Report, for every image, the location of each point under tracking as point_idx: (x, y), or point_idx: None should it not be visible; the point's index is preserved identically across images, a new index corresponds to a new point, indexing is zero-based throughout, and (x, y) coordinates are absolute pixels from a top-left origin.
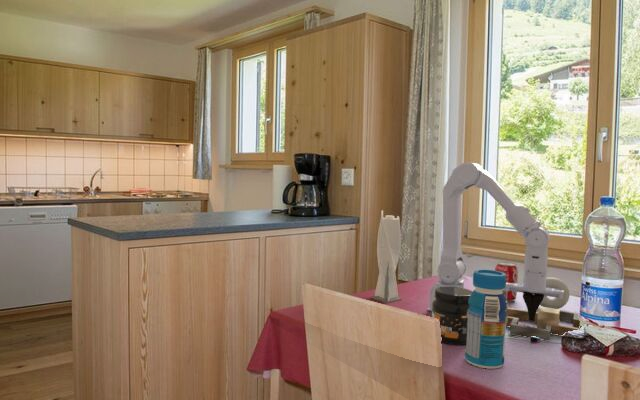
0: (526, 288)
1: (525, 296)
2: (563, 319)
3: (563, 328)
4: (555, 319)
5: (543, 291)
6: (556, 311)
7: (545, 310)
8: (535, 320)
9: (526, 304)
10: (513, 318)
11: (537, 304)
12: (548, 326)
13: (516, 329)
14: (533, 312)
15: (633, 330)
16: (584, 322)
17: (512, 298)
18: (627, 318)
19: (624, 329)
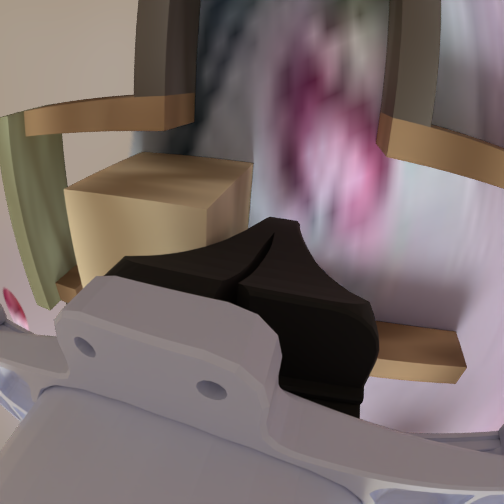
0: (323, 458)
1: (343, 324)
2: None
3: (83, 101)
4: (107, 175)
5: (27, 350)
6: (87, 252)
7: (150, 243)
8: None
9: (322, 271)
10: (430, 125)
11: (193, 256)
12: (152, 39)
13: None
14: (258, 236)
15: (7, 304)
16: (6, 194)
17: None
18: None
19: (17, 307)
